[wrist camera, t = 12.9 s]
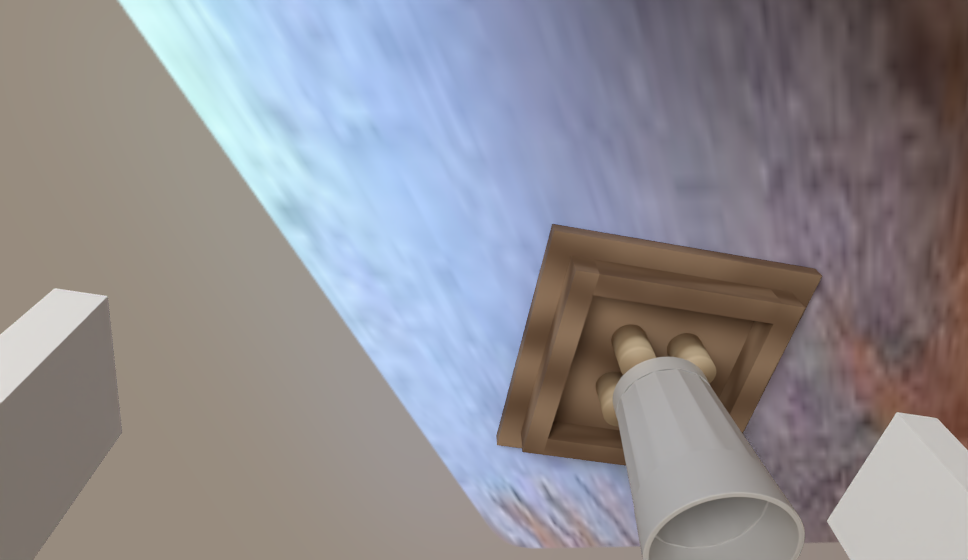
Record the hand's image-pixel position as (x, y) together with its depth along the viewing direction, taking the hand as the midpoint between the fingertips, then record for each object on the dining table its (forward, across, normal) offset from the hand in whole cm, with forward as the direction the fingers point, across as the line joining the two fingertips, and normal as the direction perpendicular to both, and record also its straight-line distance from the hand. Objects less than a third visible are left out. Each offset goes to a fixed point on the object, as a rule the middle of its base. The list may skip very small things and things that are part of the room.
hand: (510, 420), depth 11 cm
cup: (+25, +15, -17) cm, 34 cm away
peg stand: (+29, +15, -17) cm, 37 cm away
